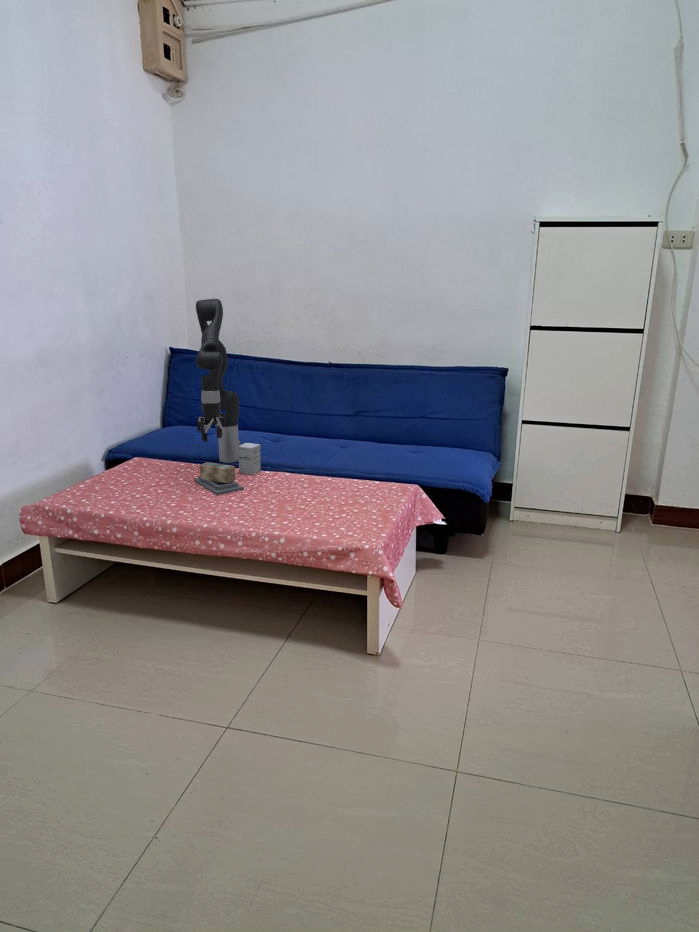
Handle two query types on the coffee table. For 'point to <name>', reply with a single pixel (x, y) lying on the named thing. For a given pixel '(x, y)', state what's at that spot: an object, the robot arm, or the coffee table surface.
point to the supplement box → (249, 458)
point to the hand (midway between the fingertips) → (212, 439)
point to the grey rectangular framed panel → (218, 486)
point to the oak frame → (217, 472)
